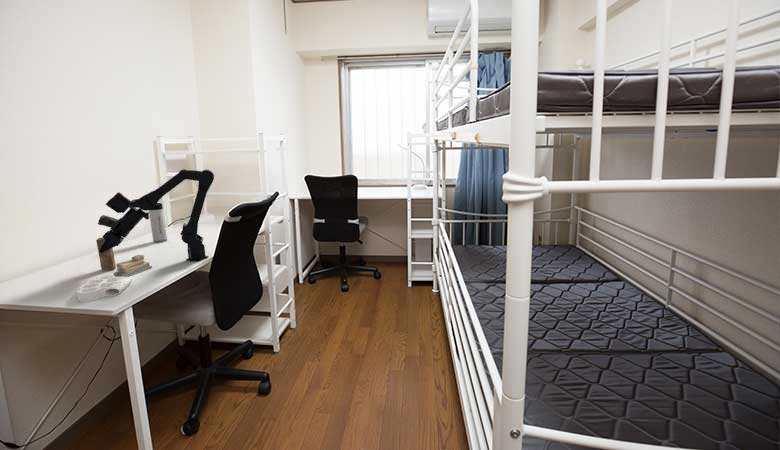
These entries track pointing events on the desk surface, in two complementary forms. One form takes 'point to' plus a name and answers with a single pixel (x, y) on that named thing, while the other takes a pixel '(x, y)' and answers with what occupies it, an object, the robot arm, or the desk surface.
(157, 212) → the travel mug
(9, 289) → the desk surface
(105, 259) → the walnut block
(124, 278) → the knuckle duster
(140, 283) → the desk surface
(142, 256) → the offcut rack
